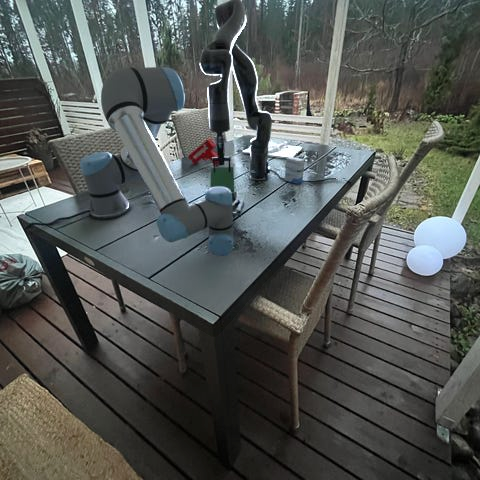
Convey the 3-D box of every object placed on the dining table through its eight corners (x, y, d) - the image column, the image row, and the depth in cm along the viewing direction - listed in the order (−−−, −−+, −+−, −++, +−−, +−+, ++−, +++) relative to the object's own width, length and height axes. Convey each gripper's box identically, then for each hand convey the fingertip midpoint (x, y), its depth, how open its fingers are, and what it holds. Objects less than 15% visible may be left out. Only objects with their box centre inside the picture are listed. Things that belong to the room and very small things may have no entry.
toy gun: (225, 158, 166) (210, 137, 162) (223, 160, 163) (207, 139, 159) (205, 174, 176) (191, 154, 172) (202, 176, 173) (188, 156, 169)
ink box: (302, 181, 142) (305, 159, 136) (297, 184, 139) (300, 161, 133) (289, 177, 147) (291, 156, 141) (284, 180, 144) (285, 158, 138)
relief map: (291, 159, 177) (291, 151, 174) (243, 153, 190) (243, 145, 187) (302, 149, 197) (303, 142, 194) (258, 144, 211) (258, 137, 208)
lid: (211, 169, 114) (209, 153, 108) (233, 169, 114) (233, 152, 108) (210, 192, 105) (208, 176, 99) (234, 192, 106) (234, 175, 99)
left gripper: (190, 232, 93) (196, 204, 112) (253, 230, 94) (249, 203, 113) (187, 213, 89) (194, 187, 108) (254, 211, 90) (249, 186, 109)
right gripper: (209, 113, 103) (212, 158, 113) (207, 120, 92) (211, 170, 102) (229, 113, 104) (230, 158, 113) (229, 120, 92) (231, 169, 102)
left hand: (222, 195), depth 111 cm, fingers closed on chest, 9 cm apart
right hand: (221, 163), depth 108 cm, fingers closed
